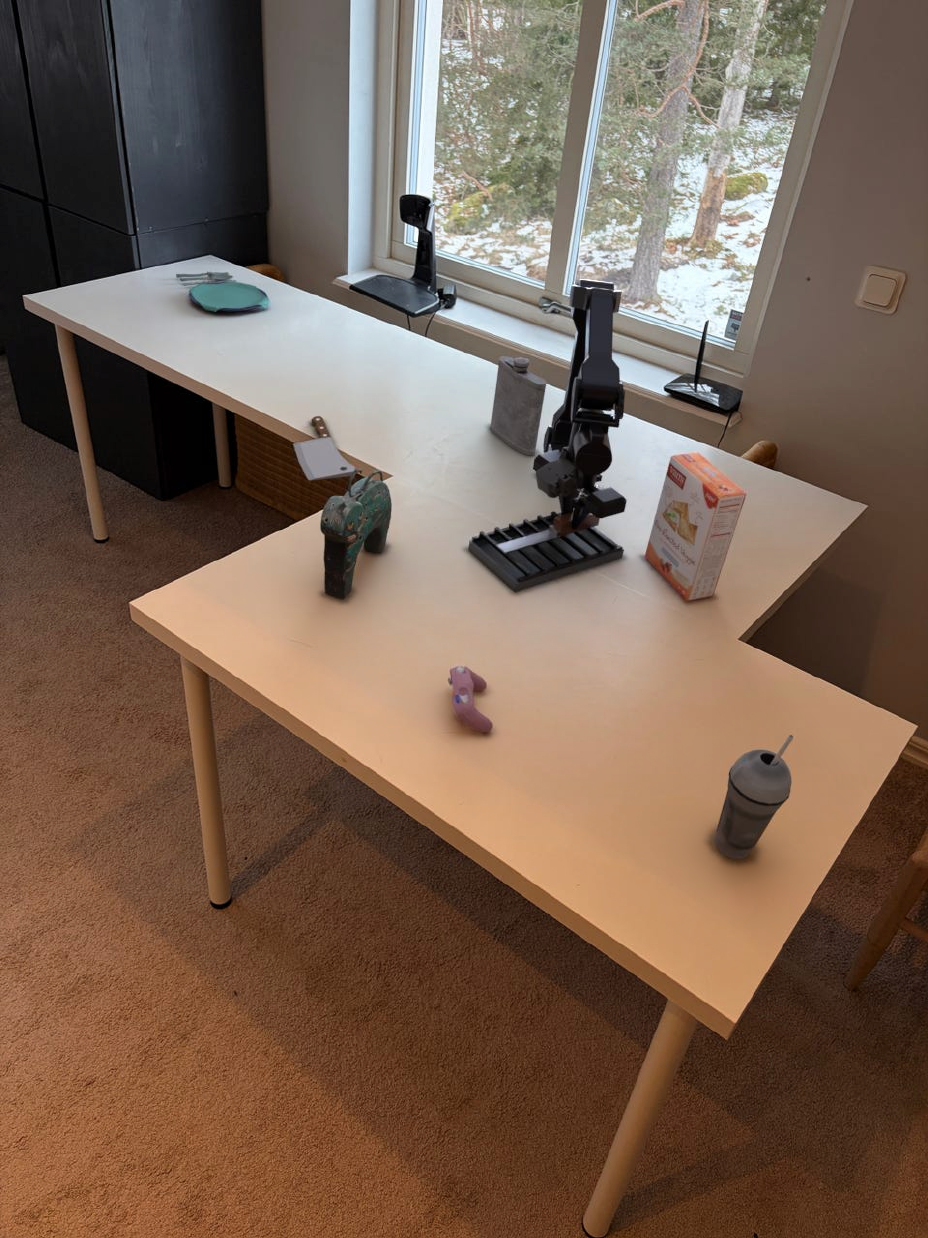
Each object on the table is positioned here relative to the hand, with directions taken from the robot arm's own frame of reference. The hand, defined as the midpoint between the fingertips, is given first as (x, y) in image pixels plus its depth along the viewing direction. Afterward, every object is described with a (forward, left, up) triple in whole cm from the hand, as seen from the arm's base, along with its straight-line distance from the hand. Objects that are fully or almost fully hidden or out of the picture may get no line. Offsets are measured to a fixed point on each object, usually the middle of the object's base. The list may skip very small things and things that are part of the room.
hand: (570, 525), depth 167 cm
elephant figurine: (+38, -10, -5) cm, 39 cm away
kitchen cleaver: (+24, -50, -5) cm, 55 cm away
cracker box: (-12, +16, -5) cm, 21 cm away
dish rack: (+5, 0, -5) cm, 7 cm away
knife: (+5, 0, -1) cm, 5 cm away
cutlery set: (+8, -135, -5) cm, 136 cm away
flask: (-15, -38, -5) cm, 41 cm away
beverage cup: (+24, +63, -5) cm, 68 cm away
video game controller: (+40, +27, -5) cm, 48 cm away
